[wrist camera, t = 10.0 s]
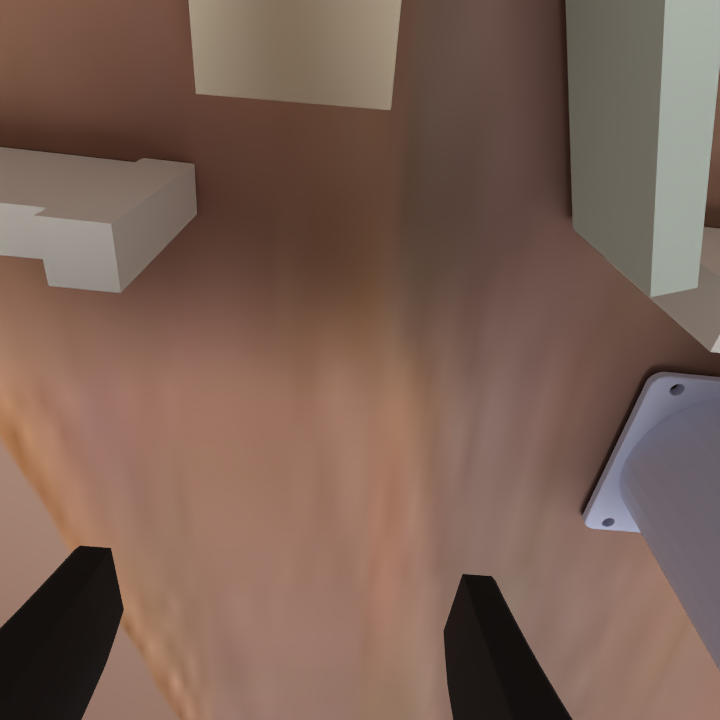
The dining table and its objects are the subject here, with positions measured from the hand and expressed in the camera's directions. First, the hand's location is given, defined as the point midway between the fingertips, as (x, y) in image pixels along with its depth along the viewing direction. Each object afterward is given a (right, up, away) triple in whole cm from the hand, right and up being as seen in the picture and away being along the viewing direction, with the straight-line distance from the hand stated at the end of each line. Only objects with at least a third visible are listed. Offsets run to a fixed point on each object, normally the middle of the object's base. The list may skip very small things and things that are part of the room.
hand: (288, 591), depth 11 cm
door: (+8, +14, +2) cm, 16 cm away
